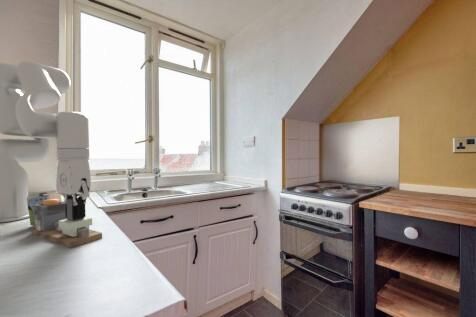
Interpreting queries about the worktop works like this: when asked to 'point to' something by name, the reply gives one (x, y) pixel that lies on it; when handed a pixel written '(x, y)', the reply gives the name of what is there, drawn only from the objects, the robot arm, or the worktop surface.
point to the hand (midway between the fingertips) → (75, 216)
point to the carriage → (73, 221)
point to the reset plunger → (50, 202)
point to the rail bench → (67, 238)
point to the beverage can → (33, 200)
